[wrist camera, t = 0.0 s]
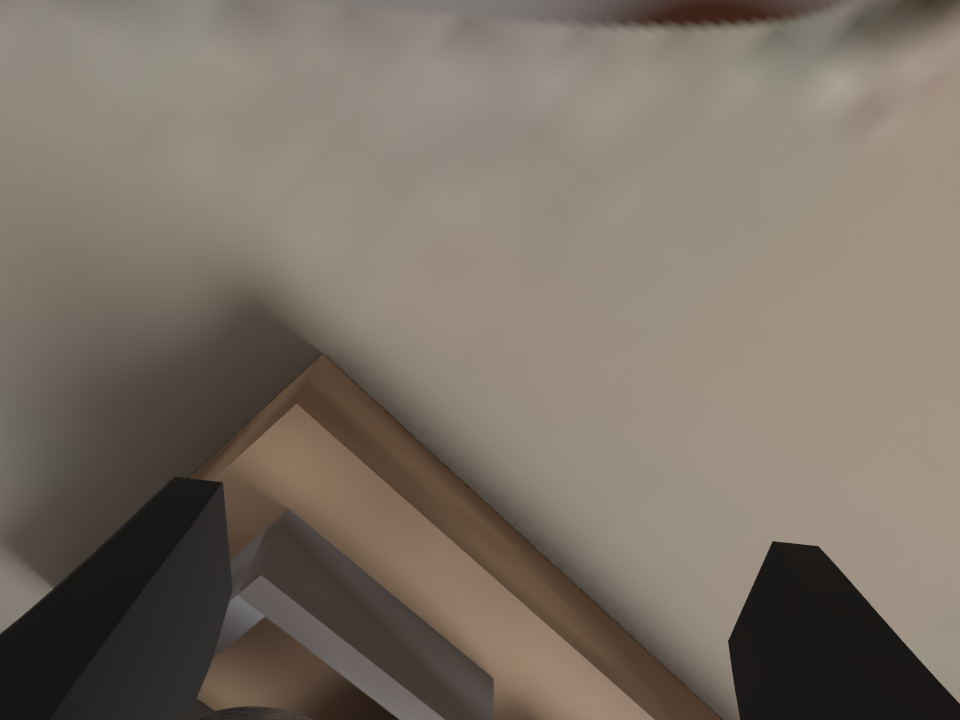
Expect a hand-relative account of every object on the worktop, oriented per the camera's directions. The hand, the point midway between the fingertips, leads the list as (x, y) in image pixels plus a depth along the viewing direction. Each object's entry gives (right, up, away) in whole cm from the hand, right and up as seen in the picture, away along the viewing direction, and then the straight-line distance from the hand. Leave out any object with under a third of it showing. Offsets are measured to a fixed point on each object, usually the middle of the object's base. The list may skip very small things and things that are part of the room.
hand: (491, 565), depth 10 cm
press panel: (-2, -8, +15) cm, 17 cm away
